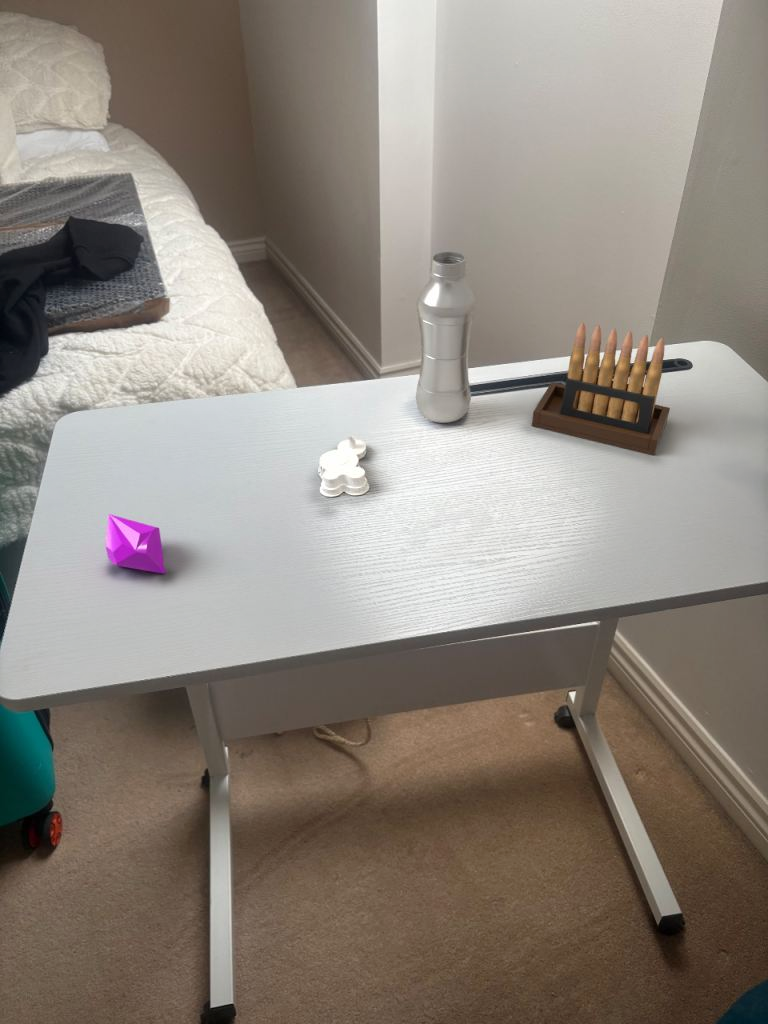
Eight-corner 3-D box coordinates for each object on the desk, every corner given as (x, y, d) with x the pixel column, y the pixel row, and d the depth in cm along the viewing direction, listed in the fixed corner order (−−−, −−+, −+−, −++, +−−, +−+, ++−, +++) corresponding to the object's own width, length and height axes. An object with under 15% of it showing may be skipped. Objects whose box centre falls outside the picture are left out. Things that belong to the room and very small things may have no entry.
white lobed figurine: (397, 484, 91) (397, 468, 90) (327, 508, 88) (325, 492, 87) (358, 442, 98) (357, 426, 96) (291, 463, 95) (289, 447, 93)
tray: (666, 422, 100) (670, 407, 99) (654, 455, 95) (657, 440, 94) (549, 396, 105) (551, 381, 104) (531, 426, 100) (533, 411, 99)
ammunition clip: (651, 427, 98) (672, 335, 91) (648, 435, 97) (669, 343, 90) (563, 407, 102) (576, 317, 94) (559, 414, 101) (572, 324, 93)
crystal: (110, 581, 80) (99, 545, 77) (118, 544, 84) (108, 509, 81) (165, 577, 80) (156, 541, 77) (170, 540, 84) (162, 505, 81)
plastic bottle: (471, 429, 99) (482, 270, 87) (415, 429, 100) (418, 270, 87) (468, 401, 104) (478, 246, 92) (414, 401, 105) (417, 246, 92)
